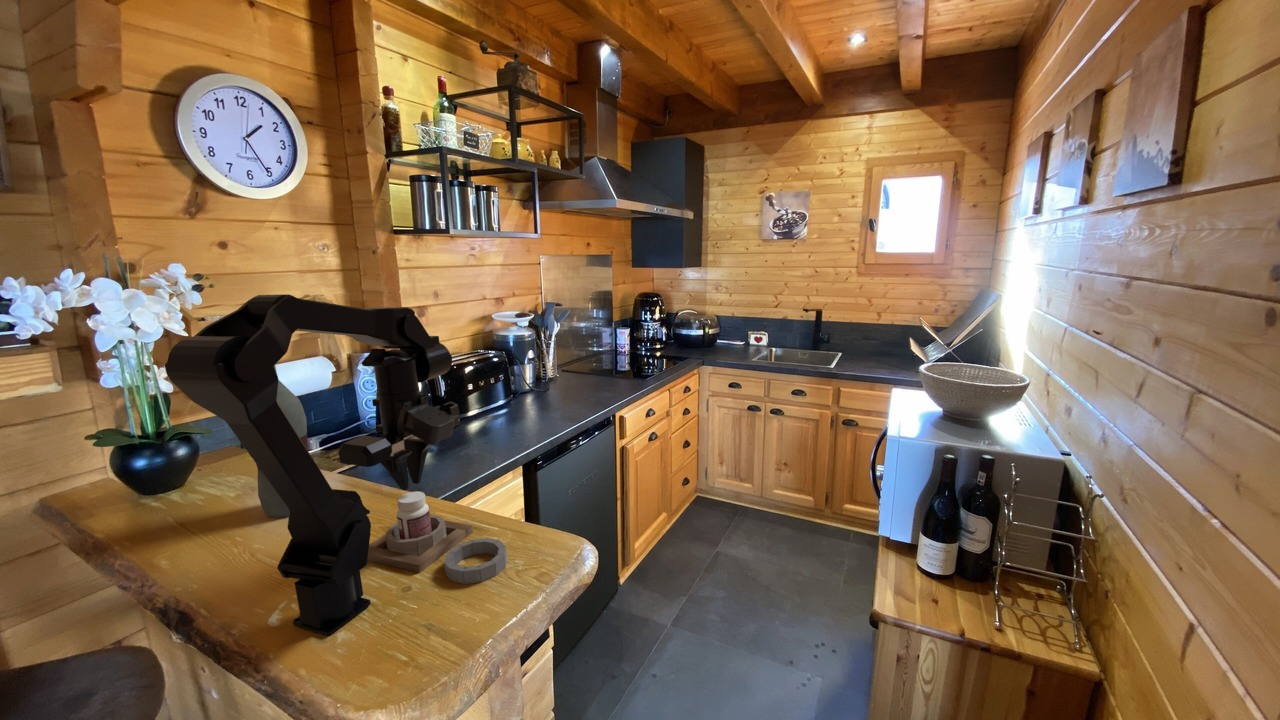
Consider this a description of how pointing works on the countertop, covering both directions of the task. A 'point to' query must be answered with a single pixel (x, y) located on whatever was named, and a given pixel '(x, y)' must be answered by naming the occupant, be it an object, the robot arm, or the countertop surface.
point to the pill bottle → (413, 516)
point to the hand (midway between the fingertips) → (410, 486)
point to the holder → (480, 571)
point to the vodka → (297, 419)
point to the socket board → (417, 545)
